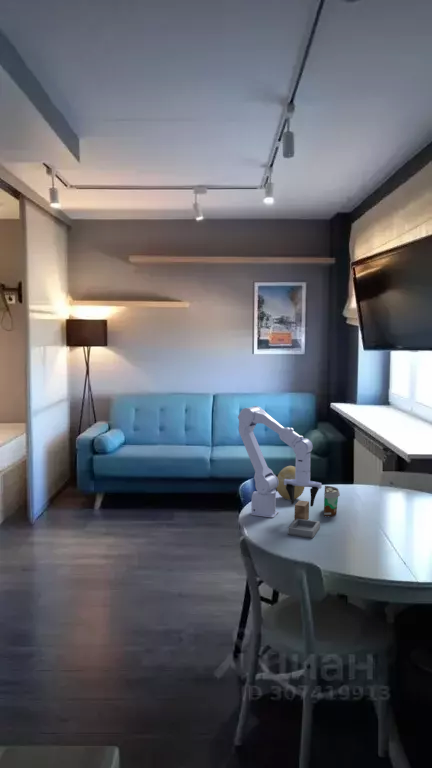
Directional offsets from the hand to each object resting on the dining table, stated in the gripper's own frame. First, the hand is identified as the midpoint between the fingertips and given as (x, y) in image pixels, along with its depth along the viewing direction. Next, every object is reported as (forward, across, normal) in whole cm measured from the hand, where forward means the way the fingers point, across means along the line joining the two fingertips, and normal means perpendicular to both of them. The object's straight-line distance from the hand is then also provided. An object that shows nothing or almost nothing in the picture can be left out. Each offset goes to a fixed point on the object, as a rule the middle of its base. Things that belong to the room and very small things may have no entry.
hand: (302, 504), depth 223 cm
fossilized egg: (+6, -12, +27) cm, 30 cm away
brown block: (+6, 0, 0) cm, 7 cm away
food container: (+7, +9, +14) cm, 18 cm away
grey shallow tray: (+6, +4, -12) cm, 14 cm away
